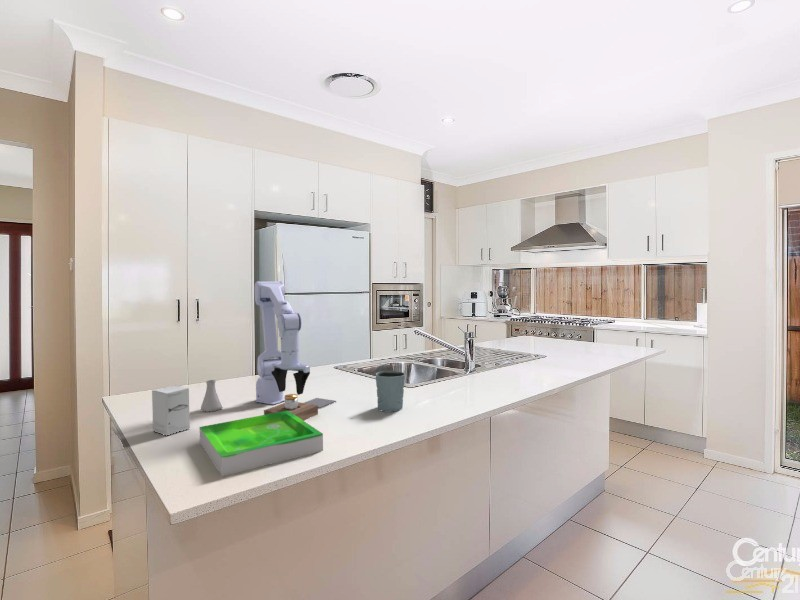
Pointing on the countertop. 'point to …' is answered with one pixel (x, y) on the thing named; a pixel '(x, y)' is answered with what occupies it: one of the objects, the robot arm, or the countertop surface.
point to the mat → (320, 402)
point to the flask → (211, 398)
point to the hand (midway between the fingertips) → (291, 392)
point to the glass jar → (291, 402)
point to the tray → (258, 441)
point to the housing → (296, 410)
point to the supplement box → (170, 409)
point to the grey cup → (390, 390)
